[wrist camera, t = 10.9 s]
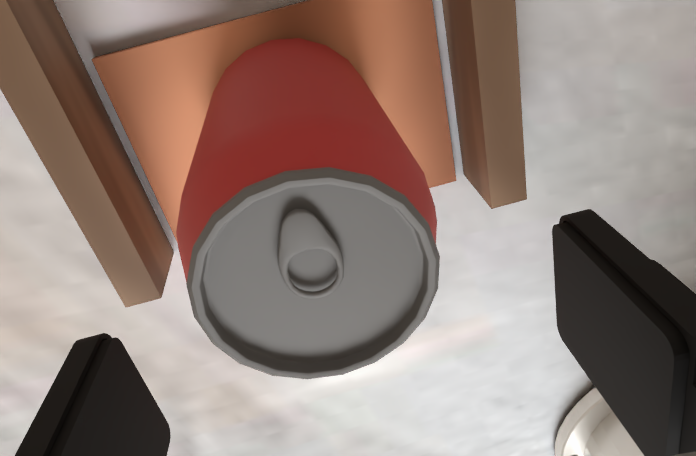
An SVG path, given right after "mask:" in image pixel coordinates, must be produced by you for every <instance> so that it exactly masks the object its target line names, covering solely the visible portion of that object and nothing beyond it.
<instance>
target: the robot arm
mask: <svg viewBox="0 0 696 456" xmlns="http://www.w3.org/2000/svg"><path fill="white" fill-rule="evenodd" d="M552 235H553V255H554V275H555V295H556V314H557V327H558V331H559V334H560V336H561V338H562V340H563V342H564V343H565V345H566V346H567V347H568V349H569V350H570V352H571V353H572V355H573V356H574V357H575V359H576V360H577V362H578V363H579V364H580V366H581V367H582V369H583V370H584V371H585V373H586V374H587V376H588V377H589V379H590V380H591V381H592V383H593V384H594V386H595V388H593V389H592V390H591V391H589V392H588V393H587V394H586V395H585V396H584V397H583V398H582V399H581V400H580V401H579V402H578V403H577V404H576V405H575V406H574V407H573V409H572V410H571V411H570V412H569V414H568V415H567V416H566V418H565V420H564V421H563V423H562V425H561V427H560V429H559V431H558V434H557V438H556V441H555V456H696V294H695V293H694V292H693V291H691V290H690V289H689V288H688V287H687V286H685V285H684V284H683V283H682V282H681V281H680V280H678V279H677V278H676V277H675V276H674V275H672V274H671V273H670V272H669V271H668V270H666V269H665V268H664V267H663V266H662V265H661V264H659V263H657V262H656V261H654V260H650V259H649V258H648V257H647V256H646V255H644V254H643V253H642V252H641V251H640V250H638V249H637V248H636V247H635V246H634V245H633V244H631V243H630V242H629V241H628V240H627V239H626V238H624V237H623V236H622V235H621V234H620V233H619V232H617V231H616V230H615V229H614V228H613V227H611V226H610V225H609V224H608V223H607V222H606V221H604V220H603V219H602V218H601V217H600V216H599V215H597V214H596V213H595V212H594V211H592V210H591V209H587V210H583V211H579V212H576V213H572V214H568V215H564V216H562V217H561V218H560V221H559V224H557V225H554V226H553V229H552ZM169 443H170V428H169V425H168V423H167V421H166V419H165V417H164V415H163V414H162V412H161V410H160V408H159V407H158V405H157V403H156V401H155V400H154V398H153V396H152V394H151V393H150V391H149V389H148V387H147V386H146V384H145V382H144V380H143V379H142V377H141V375H140V374H139V372H138V370H137V368H136V367H135V365H134V363H133V361H132V360H131V358H130V356H129V354H128V353H127V351H126V349H125V347H124V346H123V344H122V342H121V341H120V340H119V339H118V338H111V336H110V335H108V334H105V333H103V334H99V335H95V336H91V337H87V338H84V339H80V340H77V341H76V342H75V343H74V345H73V347H72V349H71V350H70V352H69V354H68V356H67V358H66V360H65V362H64V364H63V366H62V367H61V369H60V371H59V373H58V375H57V377H56V379H55V381H54V383H53V384H52V386H51V388H50V390H49V392H48V394H47V396H46V398H45V400H44V401H43V403H42V405H41V407H40V409H39V411H38V413H37V415H36V417H35V419H34V420H33V422H32V424H31V426H30V428H29V430H28V432H27V434H26V436H25V437H24V439H23V441H22V443H21V445H20V447H19V449H18V451H17V453H16V454H15V456H167V451H168V447H169Z"/></svg>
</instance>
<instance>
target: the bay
mask: <svg viewBox="0 0 696 456" xmlns="http://www.w3.org/2000/svg"><path fill="white" fill-rule="evenodd" d="M442 4H443V12H444V20H445V28H446V36H447V44H448V52H449V60H450V68H451V76H452V84H453V91H454V99H455V107H456V115H457V123H458V131H459V139H460V147H461V155H462V163H463V171H464V175H465V176H466V178H467V179H468V180H469V181H470V183H471V184H472V185H473V186H474V188H475V189H476V190H477V191H478V193H479V194H480V195H481V196H482V198H483V199H484V200H485V201H486V202H487V204H488V205H489V206H490V207H491V209H493V208H496V207H500V206H504V205H507V204H511V203H515V202H519V201H522V200H526V199H527V194H526V177H525V160H524V143H523V126H522V108H521V91H520V74H519V57H518V40H517V23H516V6H515V0H442ZM293 38H301V39H305V40H308V41H312V42H316V43H320V44H323V45H326V46H328V47H329V48H331V49H332V50H334V51H335V52H337V53H338V54H340V55H341V56H343V57H345V58H346V59H348V60H349V62H350V63H351V64H352V65H353V67H354V68H355V69H356V71H357V72H358V73H359V74H360V76H361V77H362V78H363V79H364V81H365V82H366V84H367V85H368V87H369V89H370V90H371V92H372V93H373V95H374V96H375V98H376V99H377V101H378V102H379V104H380V106H381V107H382V109H383V110H384V112H385V113H386V115H387V116H388V118H389V119H390V121H391V123H392V124H393V126H394V127H395V129H396V130H397V132H398V133H399V135H400V136H401V138H402V140H403V141H404V143H405V144H406V146H407V147H408V149H409V150H410V152H411V153H412V155H413V157H414V158H415V160H416V161H417V163H418V164H419V166H420V167H421V169H422V170H423V172H424V174H425V177H426V181H427V184H428V187H429V188H431V187H435V186H439V185H442V184H446V183H450V182H453V181H456V175H455V168H454V160H453V153H452V146H451V138H450V131H449V123H448V116H447V108H446V101H445V93H444V86H443V79H442V71H441V64H440V56H439V49H438V41H437V34H436V26H435V19H434V12H433V4H432V0H307V1H303V2H300V3H296V4H292V5H288V6H285V7H281V8H277V9H273V10H270V11H266V12H262V13H259V14H255V15H251V16H247V17H244V18H240V19H236V20H232V21H229V22H225V23H221V24H217V25H214V26H210V27H206V28H202V29H199V30H195V31H191V32H187V33H184V34H180V35H176V36H172V37H169V38H165V39H161V40H157V41H154V42H150V43H146V44H142V45H139V46H135V47H131V48H127V49H124V50H120V51H116V52H112V53H109V54H105V55H101V56H97V57H94V58H93V59H92V61H93V64H94V66H95V68H96V70H97V72H98V74H99V76H100V78H101V81H102V83H103V85H104V87H105V89H106V91H107V93H108V96H109V98H110V100H111V102H112V104H113V106H114V108H115V110H116V113H117V115H118V117H119V119H120V121H121V123H122V125H123V127H124V130H125V132H126V134H127V136H128V138H129V140H130V142H131V145H132V147H133V149H134V151H135V153H136V155H137V157H138V159H139V162H140V164H141V166H142V168H143V170H144V172H145V174H146V176H147V179H148V181H149V183H150V185H151V187H152V189H153V191H154V193H155V196H156V198H157V200H158V202H159V204H160V206H161V208H162V211H163V213H164V215H165V217H166V219H167V221H168V223H169V225H170V228H171V230H172V232H173V234H174V236H175V238H176V240H177V235H176V230H177V223H178V216H179V209H180V202H181V196H182V192H183V189H184V186H185V182H186V179H187V176H188V173H189V169H190V166H191V163H192V160H193V156H194V153H195V150H196V146H197V143H198V140H199V137H200V133H201V130H202V127H203V124H204V120H205V117H206V114H207V111H208V107H209V104H210V101H211V97H212V94H213V91H214V90H215V88H216V86H217V84H218V82H219V80H220V79H221V77H222V75H223V73H224V71H225V69H226V68H227V67H228V66H229V65H231V64H232V63H233V62H234V61H235V60H236V59H237V58H238V57H239V56H241V55H242V54H243V53H244V52H245V51H246V50H249V49H251V48H253V47H256V46H258V45H261V44H263V43H265V42H268V41H270V40H278V39H293ZM0 89H1V91H2V92H3V94H4V96H5V98H6V99H7V101H8V103H9V105H10V106H11V108H12V110H13V112H14V113H15V115H16V117H17V119H18V120H19V122H20V124H21V125H22V127H23V129H24V131H25V132H26V134H27V136H28V138H29V139H30V141H31V143H32V145H33V146H34V148H35V150H36V152H37V153H38V155H39V157H40V159H41V160H42V162H43V164H44V166H45V167H46V169H47V171H48V173H49V174H50V176H51V178H52V180H53V181H54V183H55V185H56V187H57V188H58V190H59V192H60V194H61V195H62V197H63V199H64V200H65V202H66V204H67V206H68V207H69V209H70V211H71V213H72V214H73V216H74V218H75V220H76V221H77V223H78V225H79V227H80V228H81V230H82V232H83V234H84V235H85V237H86V239H87V241H88V242H89V244H90V246H91V248H92V249H93V251H94V253H95V255H96V256H97V258H98V260H99V262H100V263H101V265H102V267H103V268H104V270H105V272H106V274H107V275H108V277H109V279H110V281H111V282H112V284H113V286H114V288H115V289H116V291H117V293H118V295H119V296H120V298H121V300H122V302H123V303H124V305H125V307H129V306H133V305H137V304H141V303H144V302H148V301H152V300H155V299H159V298H161V297H162V294H163V290H164V286H165V283H166V279H167V276H168V272H169V268H170V265H171V261H172V257H173V254H174V252H173V250H172V248H171V246H170V244H169V242H168V239H167V237H166V235H165V233H164V231H163V229H162V227H161V225H160V223H159V221H158V219H157V217H156V214H155V212H154V210H153V208H152V206H151V204H150V202H149V200H148V198H147V196H146V194H145V191H144V189H143V187H142V185H141V183H140V181H139V179H138V177H137V175H136V173H135V171H134V169H133V166H132V164H131V162H130V160H129V158H128V156H127V154H126V152H125V150H124V148H123V146H122V144H121V141H120V139H119V137H118V135H117V133H116V131H115V129H114V127H113V125H112V123H111V121H110V118H109V116H108V114H107V112H106V110H105V108H104V106H103V104H102V102H101V100H100V98H99V96H98V93H97V91H96V89H95V87H94V85H93V83H92V81H91V79H90V77H89V75H88V73H87V71H86V68H85V66H84V64H83V62H82V60H81V58H80V56H79V54H78V52H77V50H76V48H75V46H74V43H73V41H72V39H71V37H70V35H69V33H68V31H67V29H66V27H65V25H64V23H63V20H62V18H61V16H60V14H59V12H58V10H57V8H56V6H55V4H54V2H53V0H0ZM177 242H178V241H177Z"/></svg>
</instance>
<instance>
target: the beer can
mask: <svg viewBox="0 0 696 456" xmlns="http://www.w3.org/2000/svg"><path fill="white" fill-rule="evenodd" d="M436 227H437V219H436V211H435V206H434V202H433V199H432V196H431V193H430V190H429V187H428V184H427V181H426V177H425V174H424V172H423V170H422V169H421V167H420V166H419V164H418V163H417V161H416V160H415V158H414V157H413V155H412V153H411V152H410V150H409V149H408V147H407V146H406V144H405V143H404V141H403V140H402V138H401V136H400V135H399V133H398V132H397V130H396V129H395V127H394V126H393V124H392V123H391V121H390V119H389V118H388V116H387V115H386V113H385V112H384V110H383V109H382V107H381V106H380V104H379V102H378V101H377V99H376V98H375V96H374V95H373V93H372V92H371V90H370V89H369V87H368V85H367V84H366V82H365V81H364V79H363V78H362V77H361V76H360V74H359V73H358V72H357V71H356V69H355V68H354V67H353V65H352V64H351V63H350V62H349V60H348V59H346V58H345V57H343V56H341V55H340V54H338V53H337V52H335V51H334V50H332V49H331V48H329V47H328V46H326V45H323V44H320V43H316V42H312V41H308V40H305V39H301V38H293V39H278V40H270V41H268V42H265V43H263V44H261V45H258V46H256V47H253V48H251V49H249V50H246V51H245V52H244V53H243V54H242V55H241V56H239V57H238V58H237V59H236V60H235V61H234V62H233V63H232V64H231V65H229V66H228V67H227V68H226V69H225V71H224V73H223V75H222V77H221V79H220V80H219V82H218V84H217V86H216V88H215V90H214V91H213V94H212V97H211V101H210V104H209V107H208V111H207V114H206V117H205V120H204V124H203V127H202V130H201V133H200V137H199V140H198V143H197V146H196V150H195V153H194V156H193V160H192V163H191V166H190V169H189V173H188V176H187V179H186V182H185V186H184V189H183V192H182V196H181V202H180V209H179V216H178V223H177V230H176V235H177V241H178V248H179V252H180V256H181V261H182V265H183V269H184V273H185V278H186V282H187V289H188V293H189V297H190V301H191V306H192V310H193V314H194V317H195V319H196V320H197V321H198V323H199V324H200V326H201V327H202V329H203V330H204V332H205V333H206V334H207V336H208V337H209V339H210V340H211V342H212V343H213V344H214V345H215V346H217V347H218V348H219V349H221V350H222V351H224V352H225V353H226V354H228V355H229V356H230V357H232V358H233V359H234V360H236V361H237V362H238V363H240V364H242V365H245V366H248V367H251V368H253V369H256V370H259V371H261V372H264V373H267V374H270V375H272V376H282V377H292V378H301V379H312V378H320V377H327V376H335V375H343V374H345V373H348V372H351V371H353V370H356V369H359V368H361V367H364V366H367V365H369V364H372V363H375V362H376V361H378V360H379V359H381V358H382V357H384V356H385V355H387V354H388V353H390V352H391V351H393V350H394V349H396V348H397V347H398V346H400V345H401V344H403V343H404V342H405V341H406V340H407V339H408V337H409V336H410V335H411V334H412V333H413V331H414V330H415V329H416V328H417V327H418V326H419V324H420V323H421V322H422V321H423V320H424V319H425V317H426V315H427V312H428V310H429V308H430V305H431V303H432V301H433V298H434V296H435V294H436V291H437V289H438V277H439V259H440V256H439V253H438V250H437V247H436Z"/></svg>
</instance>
